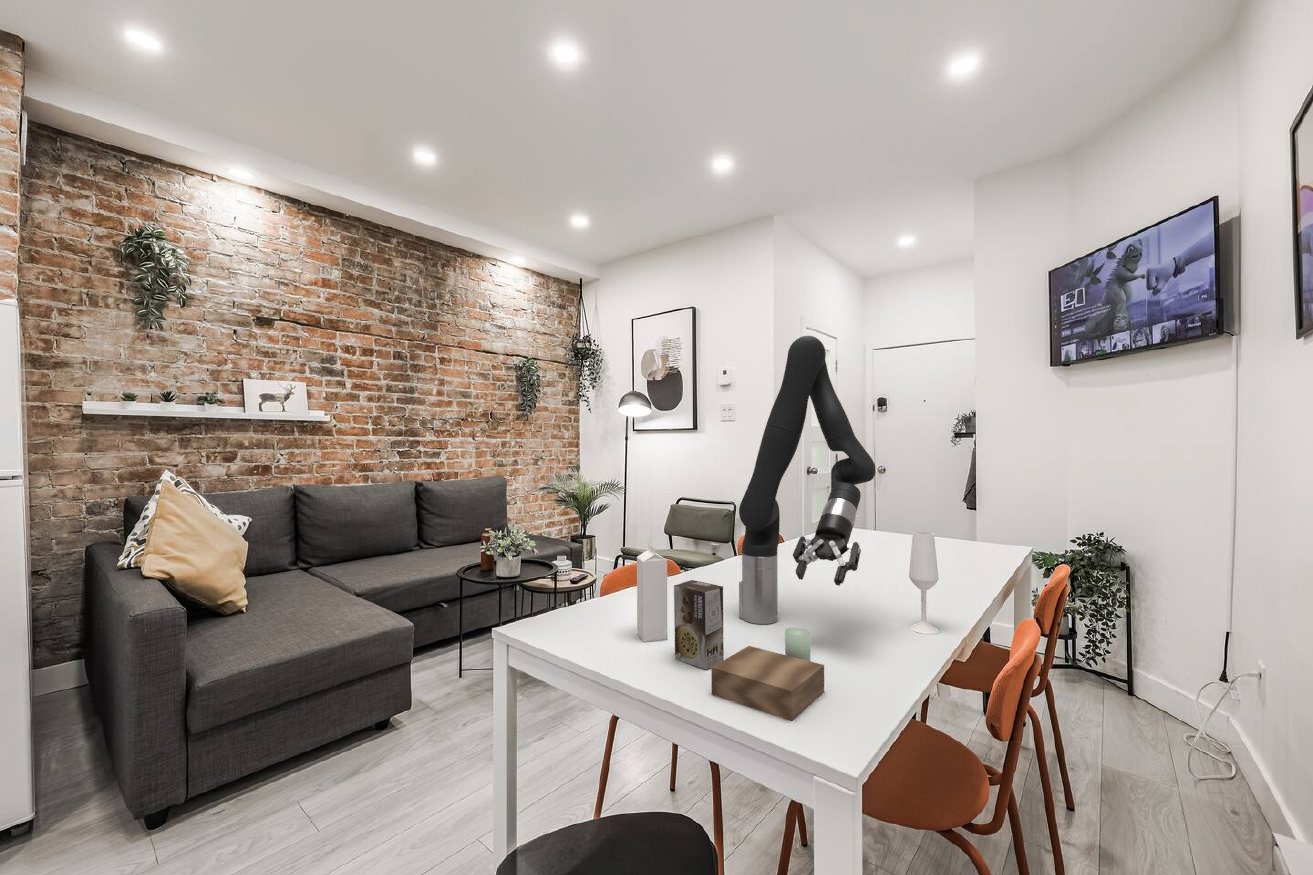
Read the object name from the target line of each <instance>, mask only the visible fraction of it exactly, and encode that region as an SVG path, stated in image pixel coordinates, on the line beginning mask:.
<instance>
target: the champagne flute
mask: <svg viewBox="0 0 1313 875" xmlns="http://www.w3.org/2000/svg"><path fill="white" fill-rule="evenodd" d="M908 577H909V579H910V581H911V583H912V584H913V585H914V586H915V587H916V588H918V590H920V598H921V600H920V603H921V604H920V610H921V613H920V615H921V616H920V617H921V618H920V619H921V620H920V621H919V622H917V623H915V624H911V625H910V626H909V630H911V631H913V632H916V633H919V634H924V635H925V634H926V635H927V634H928V635H934V634H938V633H939V632H940V631H939V629H937V628H936V627H934V626H933V625H931V624H930V622H927V591H928V590H930V589H932V588H933V587H934V586H936V584H937V583H938V581H939V578H940V577H939V568H938V559H937V550H936V540H935V533H934V532H932V531H918V530H917V531H912V538H911V550H910V560H909V571H908Z"/></svg>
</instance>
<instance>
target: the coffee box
mask: <svg viewBox="0 0 1313 875" xmlns="http://www.w3.org/2000/svg"><path fill="white" fill-rule="evenodd" d="M673 608H674V610H673V613H674V614H673V615H674V621H673V622H674V660H677V661H680V662H683V663H686V664H688V665H692V666H695V667H698V668H700V669H703V670H709V669H712V667H713V666H715V665H716V664H718V663H720V662H722V661H723V660H725V658H724V656H725V655H724V653H725V652H724V586H723V585H722V586H721V585H717V584H713V583H709V582H704V581H699V580H693V579H691V580H687V581H684V582H681V583H678V584H674V585H673Z"/></svg>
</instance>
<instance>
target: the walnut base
mask: <svg viewBox="0 0 1313 875" xmlns="http://www.w3.org/2000/svg"><path fill="white" fill-rule="evenodd" d="M823 693H825V664H822V663H818V662H815V661H811V660H810V661H807V660H803V659H799V658H795V657H791V656H787V655H785V654H782V653H779V652H775V651H771V650H767V649H764V648H763V649H762V648H760V647H756V646H751V645H748V646H746V647H744V648H742V649H740V650H739V651H737V652H736V653H734V654H732V655H730V656H729V657H727V658H724V660H723V661H722V662H720V663H718V664H716V665H715V666H713V667H711V695H712V694H713V695H712V696H716V697H719V698H721V699H724V700H728V701H730V702H734V703H737V704H739V705H742V706H746V707H748V708H752V709H754V710H758V711H761V712H764V713H765V714H770V715H772V714H774V715H773V716H775V715H776V716H775V717H778V716H779V718H781V717H782V719H784V720H788V721H791V722H793V720H794V719H795V720H796V718H797V717H798V716H799V715H800V714H802V713H803V712H804V711H805V710H806V709H807V708H808V707H809V706H810V705H812V703H814V702H815V701H816V700H817V699H818V698H819V697H820V696H821V695H822V694H823Z"/></svg>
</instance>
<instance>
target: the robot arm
mask: <svg viewBox="0 0 1313 875" xmlns="http://www.w3.org/2000/svg"><path fill="white" fill-rule="evenodd" d="M826 356H827V354H826V348H825V346H824V344H823V342H822V341H821V340H820V339H819V338H817V337H816V336H813V335H804V336H800V337H798V338H796V339H795V340H794V341H793V342H792V343H791V344H790V345H789V348H788V352H787V359H786V362H785V363H786V364H785V370H784V374H783V378H782V381H781V386H780V388H779V391H778V393H777V395H776V398H775V401H774V403H773V405H772V408H771V411H770V413H769V416H768V419H767V422H766V424H765V428H764V430H763V434H762V438H761V441H760V445H759V449H758V453H757V456H756V460H755V464H754V469H753V473H752V476H751V478H750V481H749V483H748V485H747V487H746V490H745V491H744V492H745V493H744V495H743V497H742V499H741V501H740V504H739V509H738V514H739V519H740V522H741V523H742V525H743V526H745V531H744V537H743V542H742V544H741V573H742V574H741V575H742V576H741V578H742V579H741V581H739V582H738V618H739V619H742V620H744V621H745V622H747V623H752V624H757V625H758V624H759V625H767V624H775V623H777V621H778V620H779V619H778V617H779V609H778V608H779V606H778V604H779V603H778V602H779V601H778V600H779V598H778V595H779V594H778V589H779V588H778V579H779V578H778V547H779V543H780V521H781V520H780V518H781V517H780V506H779V503H778V500H777V499H776V498H777V494H778V490H779V487H780V485H781V481H782V480H783V479H782V478H783V477H784V476H785V473H786V471H787V469H788V468H789V466H790V464H791V462H792V460H793V459H794V456H795V453H796V451H797V449H798V447H799V446H798V445H799V442H800V439H801V437H802V433H803V430H804V426H805V422H806V416H807V411H808V410H807V409H808V403H809V400H810V401H811V403H812V406H813V409H814V412H815V416H816V419H817V422H818V424H819V427H820V430H821V432H822V435H823V437H824V440H825V442H826V445H827V447H828V449H829V450H830V451H831V452H842V453H845V455H846V456H847V457H846V458H843V459H839V460H838V461H836V462H835V463H834V465H833V466H832V467H831V470H830V492H829V495H828V498H827V502H826V504H825V505H824V508H823V510H822V513H821V516H820V518H819V522H818V524H817V527H816V530H815V535H814V536H813V538H812V539H809V538H806V536H804V535H803V536H800V537H799V539H798V541H797V544H796V546H795V549H794V551H793V553H792V557H793V559H794V561H795V562H796V563H797V565H796V569H795V575H796V577H797V579H798V580H803V579H804V578H805V574H806V571H807V567H808V565H810V564H811V563H814V562H816V561H817V560H822V561H825V560H827V561H830V562H833V561H835V560H836V561H837V562H838V564H839V565H838V566H837V569H836V572H835V575H834V578H833V582H834V584H835V585H836V586H841V585H842V584H843V583H844V582H845V578H846V574H847V572H848V571H853V572H856V571H857V570H858V566H859V561H860V557H861V553H862V550H861V547H860V544H859V543H858V541H854V542H852V543H849V542H850V538H851V535H852V532H853V529H854V528H853V527H854V526H855V522H856V519H857V518H856V517H857V512H858V507H859V504H860V500H861V494H862V493H861V491H860V489H859V487H858V486H857V485H860V484H864V483H865V484H866V483H868V482H870V481H872V480H874V478H875V476H876V473H877V472H876V470H877V468H876V464H875V462H874V460H873V458H872V456H870V454H869V452H867V450H866V449H865V447H864V446H863V445H862V444H861V442H860V441H859V440H858V438H857V436H856V435H855V432H854V429H853V427H852V425H851V423H850V420H849V417H848V415H847V413H846V411H845V409H844V407H843V405H842V403H841V400H840V399H839V397H838V395H837V393H836V391H835V389H834V386H833V384H832V383H833V382H832V381H831V378H830V375H829V371H828V365H827V362H826V358H827V357H826ZM809 397H810V399H809ZM848 551H849V553H850V554H849V559H848V561H845V559H844V557H843V556H844V554H845V553H847V552H848ZM813 553H814V554H813Z"/></svg>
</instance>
